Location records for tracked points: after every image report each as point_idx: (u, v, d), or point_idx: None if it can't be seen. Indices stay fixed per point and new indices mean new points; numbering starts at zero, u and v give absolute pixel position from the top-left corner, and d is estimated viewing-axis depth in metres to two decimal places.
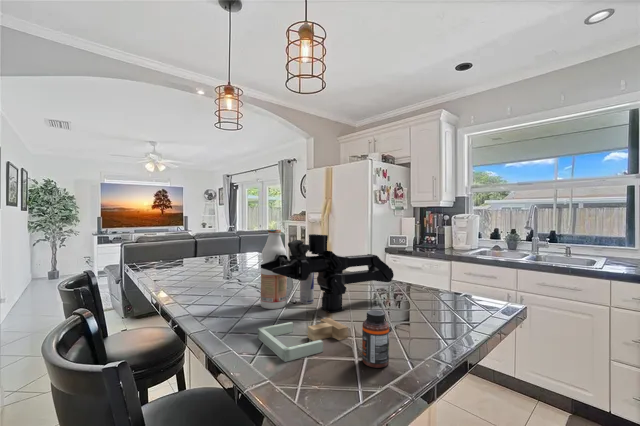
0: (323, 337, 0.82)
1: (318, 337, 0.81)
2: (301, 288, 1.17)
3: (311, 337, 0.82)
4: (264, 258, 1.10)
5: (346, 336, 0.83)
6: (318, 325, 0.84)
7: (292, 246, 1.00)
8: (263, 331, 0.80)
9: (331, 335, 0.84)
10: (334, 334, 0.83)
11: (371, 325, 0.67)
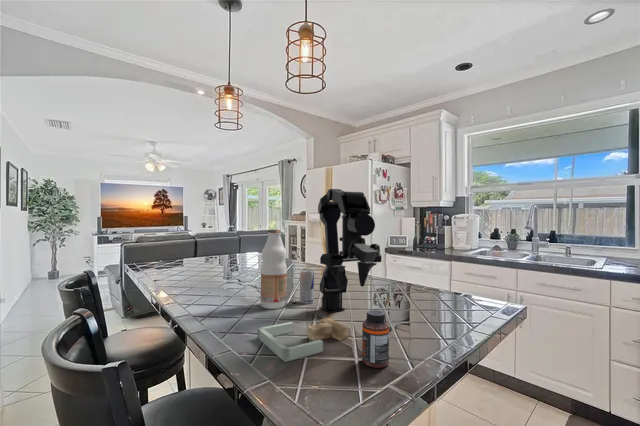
0: (323, 337, 0.82)
1: (318, 337, 0.81)
2: (301, 288, 1.17)
3: (311, 337, 0.82)
4: (264, 258, 1.10)
5: (346, 336, 0.83)
6: (318, 325, 0.84)
7: None
8: (263, 331, 0.80)
9: (331, 335, 0.84)
10: (334, 334, 0.83)
11: (371, 325, 0.67)
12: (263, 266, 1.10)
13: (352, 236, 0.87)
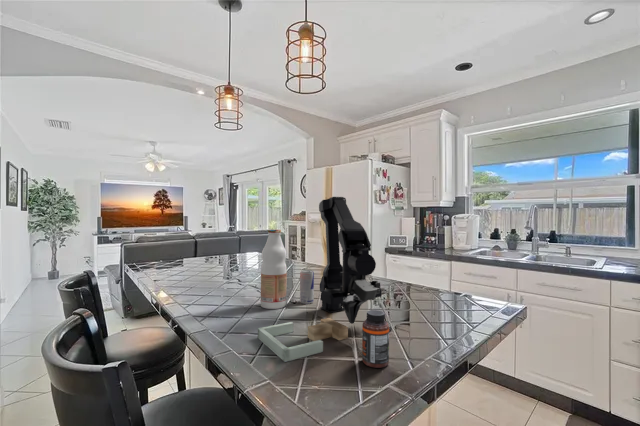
0: (323, 337, 0.82)
1: (318, 337, 0.81)
2: (301, 288, 1.17)
3: (311, 337, 0.82)
4: (264, 258, 1.10)
5: (346, 336, 0.83)
6: (318, 325, 0.84)
7: None
8: (263, 331, 0.80)
9: (331, 335, 0.84)
10: (334, 334, 0.83)
11: (371, 325, 0.67)
12: (263, 266, 1.10)
13: (352, 272, 0.87)
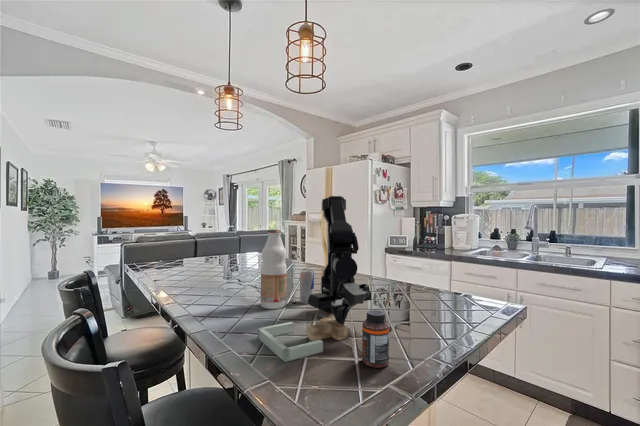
0: (323, 337, 0.82)
1: (318, 337, 0.81)
2: (301, 288, 1.17)
3: (311, 337, 0.81)
4: (264, 258, 1.10)
5: (346, 336, 0.83)
6: (317, 325, 0.84)
7: None
8: (263, 331, 0.80)
9: (331, 335, 0.84)
10: (333, 334, 0.83)
11: (371, 325, 0.67)
12: (263, 266, 1.10)
13: None
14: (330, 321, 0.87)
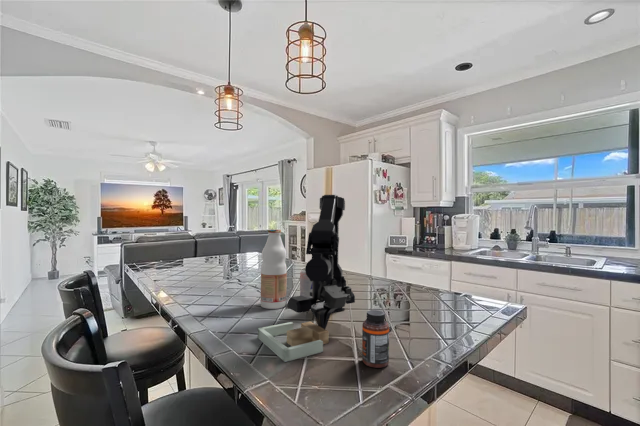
0: (302, 342, 0.79)
1: (297, 342, 0.78)
2: (301, 288, 1.17)
3: (290, 342, 0.78)
4: (264, 258, 1.10)
5: (327, 341, 0.79)
6: (298, 329, 0.80)
7: None
8: (263, 331, 0.80)
9: (311, 340, 0.80)
10: (314, 339, 0.80)
11: (371, 325, 0.67)
12: (263, 266, 1.10)
13: None
14: (311, 325, 0.84)
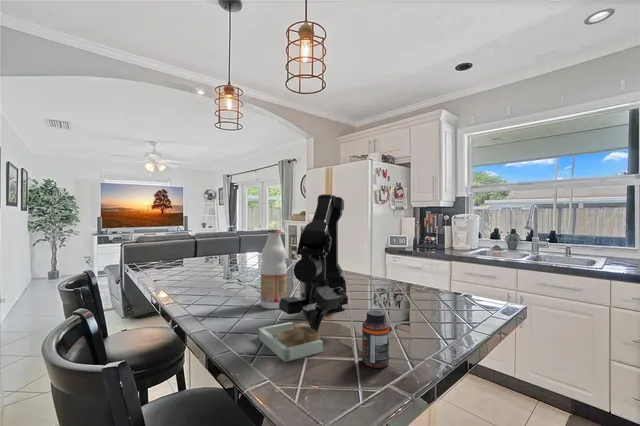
0: (294, 344, 0.77)
1: (288, 344, 0.77)
2: (301, 288, 1.17)
3: None
4: (264, 258, 1.10)
5: None
6: (289, 331, 0.79)
7: None
8: (263, 331, 0.80)
9: (303, 342, 0.79)
10: (305, 341, 0.78)
11: (371, 325, 0.67)
12: (263, 266, 1.10)
13: (314, 279, 0.80)
14: (303, 327, 0.83)
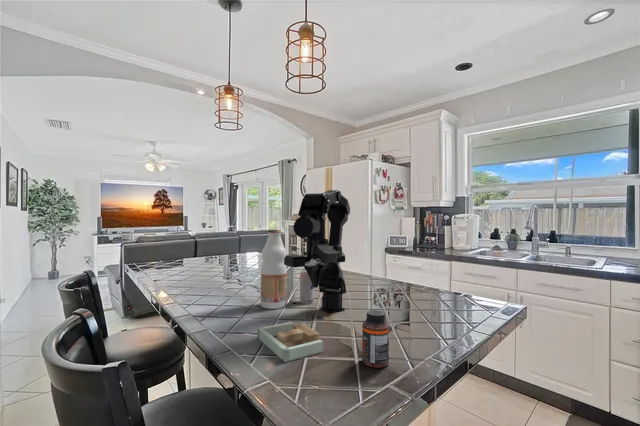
0: (293, 344, 0.77)
1: (287, 344, 0.76)
2: (301, 288, 1.17)
3: None
4: (264, 258, 1.10)
5: None
6: (288, 331, 0.79)
7: None
8: (263, 331, 0.80)
9: (302, 342, 0.79)
10: (305, 341, 0.78)
11: (371, 325, 0.67)
12: (263, 266, 1.10)
13: (315, 237, 0.89)
14: (303, 327, 0.82)
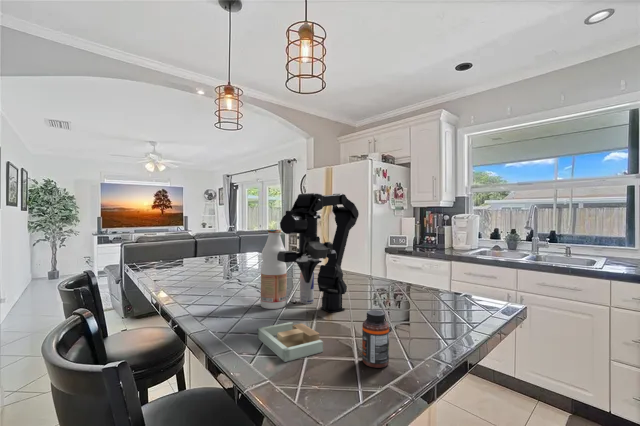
0: (293, 344, 0.77)
1: (287, 344, 0.76)
2: (301, 288, 1.17)
3: None
4: (264, 258, 1.10)
5: None
6: (288, 331, 0.79)
7: None
8: (263, 331, 0.80)
9: (302, 342, 0.79)
10: (305, 341, 0.78)
11: (371, 325, 0.67)
12: (263, 266, 1.10)
13: (307, 235, 0.94)
14: (303, 327, 0.82)
